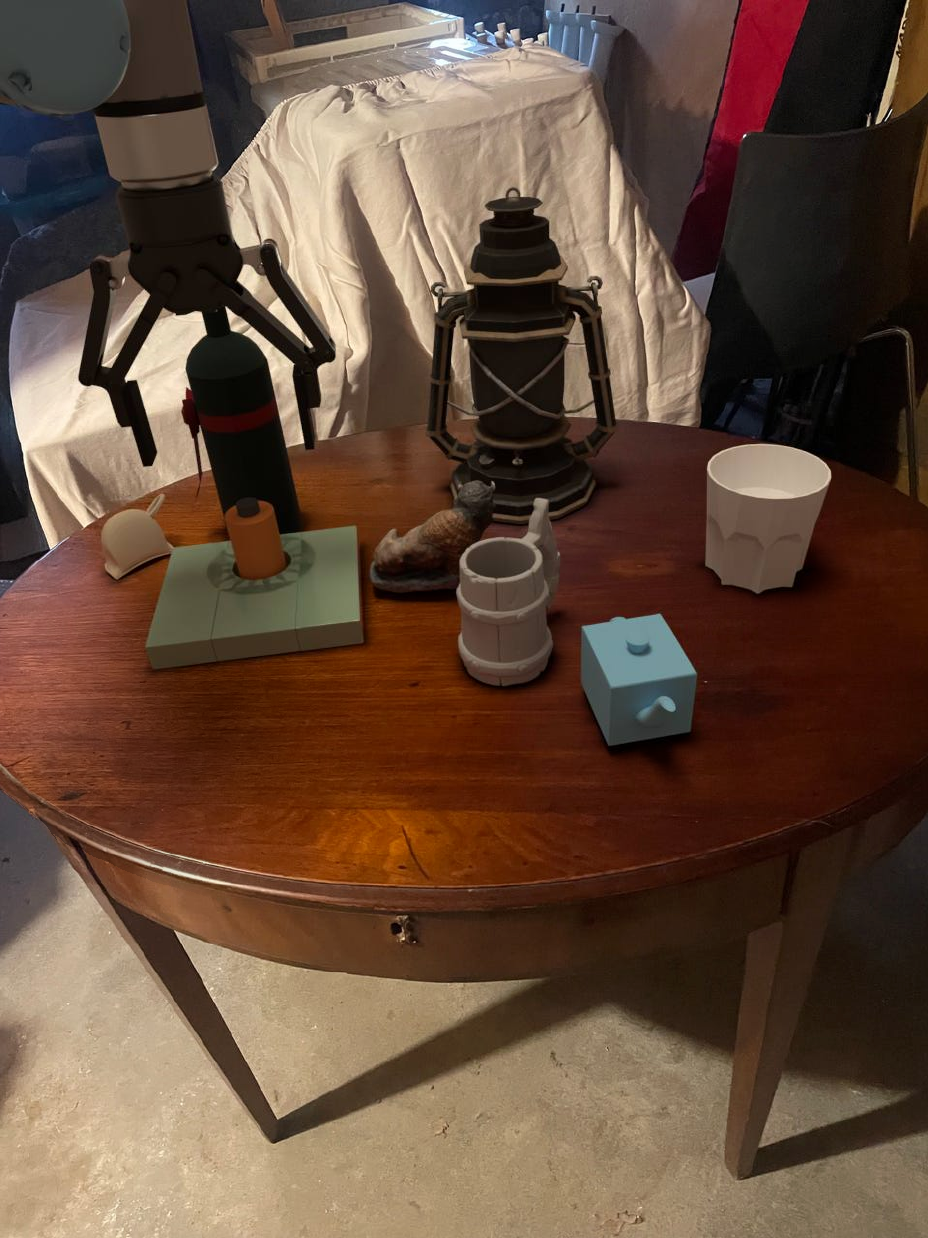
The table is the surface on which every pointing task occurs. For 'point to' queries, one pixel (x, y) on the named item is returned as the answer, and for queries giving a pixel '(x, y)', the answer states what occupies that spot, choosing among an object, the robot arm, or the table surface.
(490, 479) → the lantern
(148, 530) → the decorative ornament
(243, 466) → the wine bottle
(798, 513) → the cup
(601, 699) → the teapot
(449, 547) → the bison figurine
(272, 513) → the orange cylinder
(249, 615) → the green peg socket base
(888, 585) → the table surface
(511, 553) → the mug
